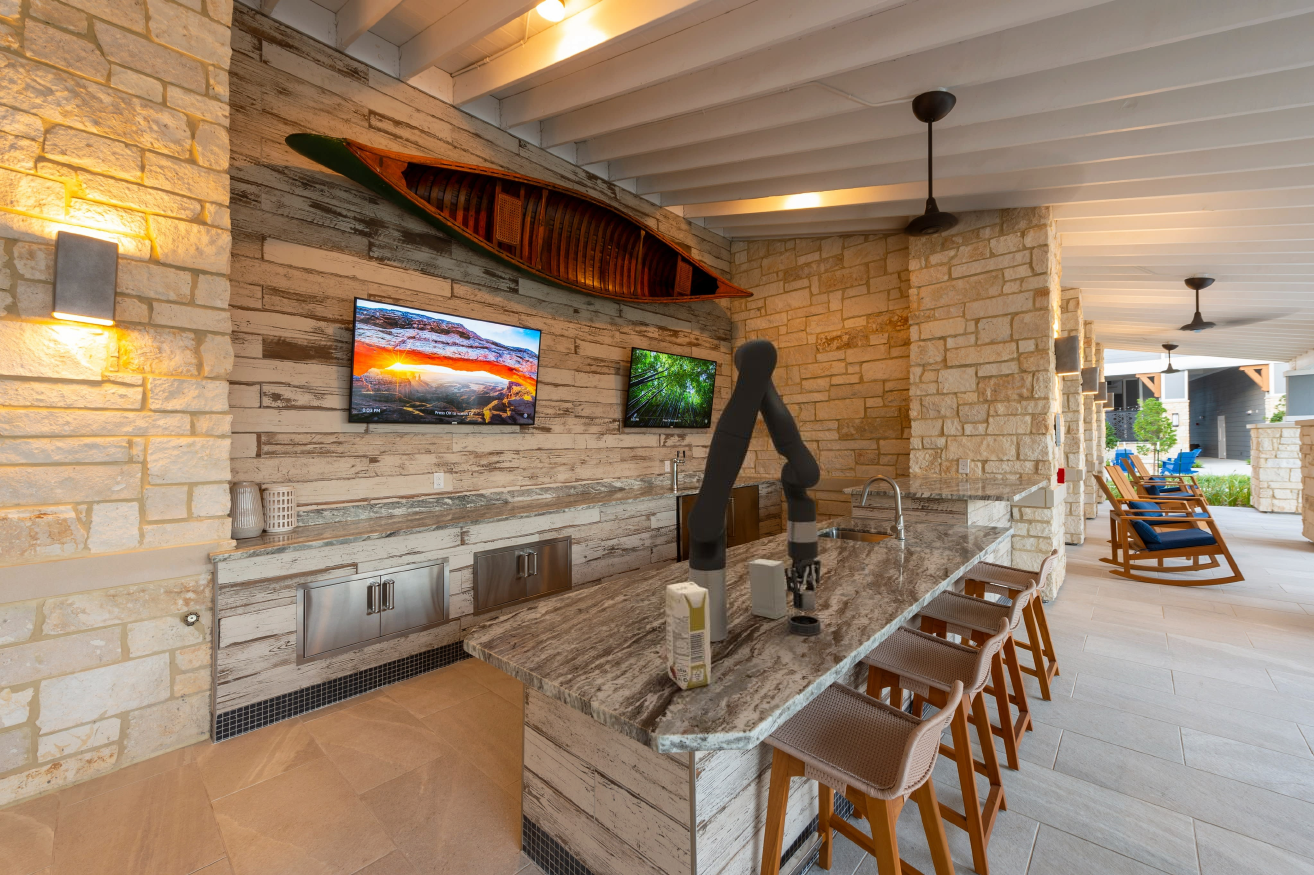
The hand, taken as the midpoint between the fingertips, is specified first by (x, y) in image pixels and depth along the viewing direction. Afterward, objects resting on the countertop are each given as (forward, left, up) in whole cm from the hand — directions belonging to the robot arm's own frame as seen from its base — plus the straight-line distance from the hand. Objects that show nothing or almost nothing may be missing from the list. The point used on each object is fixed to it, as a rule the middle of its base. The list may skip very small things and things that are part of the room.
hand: (804, 604), depth 133 cm
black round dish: (0, 0, -7) cm, 7 cm away
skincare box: (-5, +14, -7) cm, 16 cm away
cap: (0, 0, -1) cm, 1 cm away
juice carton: (-35, -21, -7) cm, 41 cm away
